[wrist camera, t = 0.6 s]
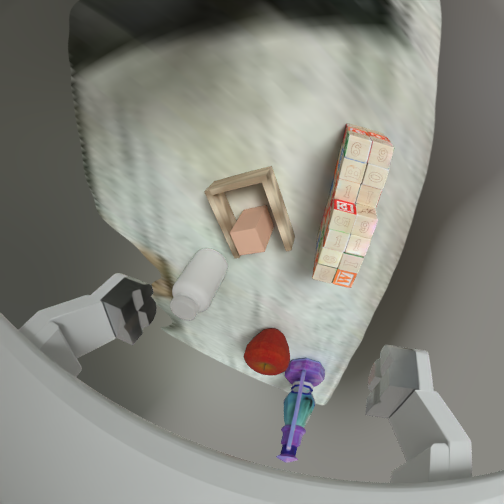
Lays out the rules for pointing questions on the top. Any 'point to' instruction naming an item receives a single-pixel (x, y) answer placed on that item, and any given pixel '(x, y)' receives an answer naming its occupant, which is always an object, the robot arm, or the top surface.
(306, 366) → the lantern
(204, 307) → the pill bottle
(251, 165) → the top surface
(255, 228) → the terracotta block
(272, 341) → the apple
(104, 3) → the top surface
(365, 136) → the stack of blocks
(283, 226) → the oak u-shaped frame
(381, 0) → the top surface
